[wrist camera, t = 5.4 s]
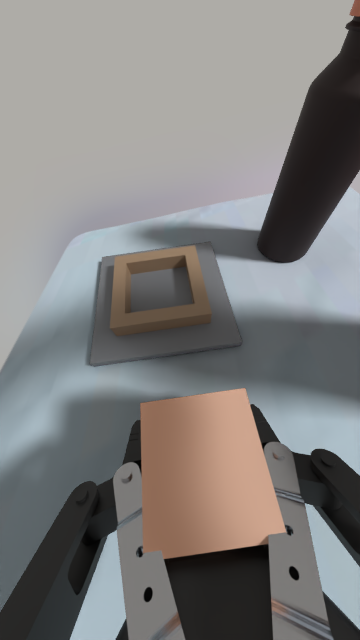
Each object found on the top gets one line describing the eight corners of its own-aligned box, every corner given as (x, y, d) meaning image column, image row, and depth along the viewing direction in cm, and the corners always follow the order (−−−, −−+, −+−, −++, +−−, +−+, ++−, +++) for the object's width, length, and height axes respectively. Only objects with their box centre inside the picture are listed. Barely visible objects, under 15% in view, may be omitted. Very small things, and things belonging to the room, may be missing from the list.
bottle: (279, 270, 25) (470, -78, 8) (246, 242, 28) (330, -51, 11) (316, 251, 26) (552, -86, 9) (281, 226, 29) (406, -60, 12)
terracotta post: (217, 408, 18) (245, 388, 8) (230, 468, 15) (288, 540, 6) (170, 415, 18) (140, 403, 8) (175, 476, 15) (143, 561, 6)
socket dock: (210, 247, 28) (211, 229, 26) (240, 345, 20) (246, 333, 18) (105, 262, 28) (95, 245, 26) (94, 366, 20) (79, 357, 18)
